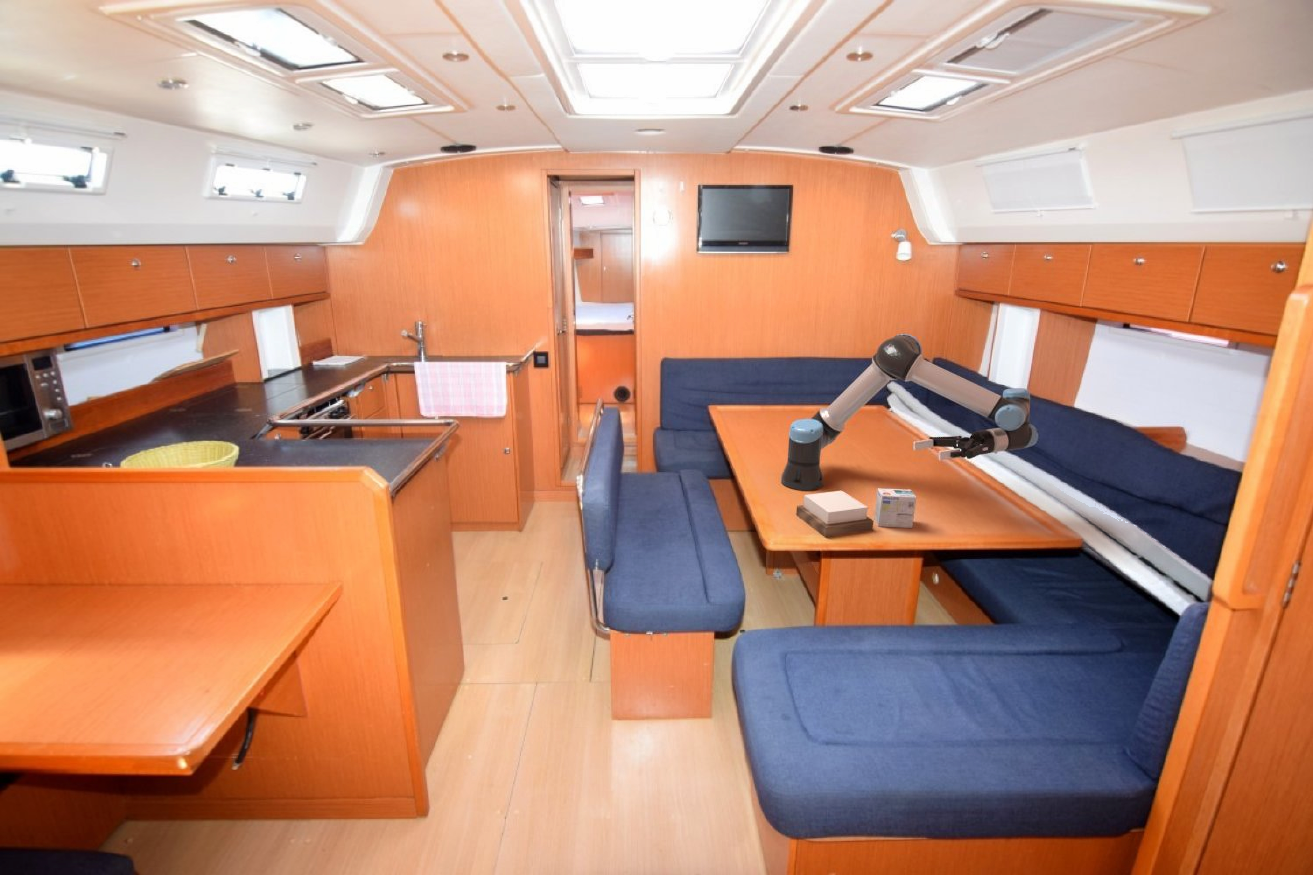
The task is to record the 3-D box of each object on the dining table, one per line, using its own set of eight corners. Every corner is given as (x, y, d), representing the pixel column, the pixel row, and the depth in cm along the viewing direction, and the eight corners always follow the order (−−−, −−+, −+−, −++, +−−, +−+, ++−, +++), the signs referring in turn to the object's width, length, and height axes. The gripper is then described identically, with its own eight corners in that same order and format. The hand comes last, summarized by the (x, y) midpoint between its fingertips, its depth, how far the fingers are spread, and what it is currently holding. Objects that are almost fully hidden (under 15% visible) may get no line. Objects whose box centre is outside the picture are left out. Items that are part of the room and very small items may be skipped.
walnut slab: (796, 516, 202) (796, 505, 201) (840, 510, 207) (841, 499, 206) (824, 539, 187) (825, 527, 186) (872, 532, 192) (873, 520, 191)
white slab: (803, 506, 200) (804, 495, 199) (840, 501, 205) (841, 490, 203) (827, 524, 188) (828, 512, 186) (866, 519, 192) (867, 507, 191)
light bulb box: (906, 519, 199) (911, 488, 196) (913, 528, 193) (917, 496, 190) (873, 518, 200) (876, 487, 197) (878, 526, 194) (882, 495, 191)
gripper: (1016, 462, 184) (951, 472, 182) (962, 444, 209) (904, 453, 206) (1016, 438, 183) (951, 448, 180) (962, 423, 207) (904, 431, 204)
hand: (926, 450), depth 193 cm, fingers open, 13 cm apart
